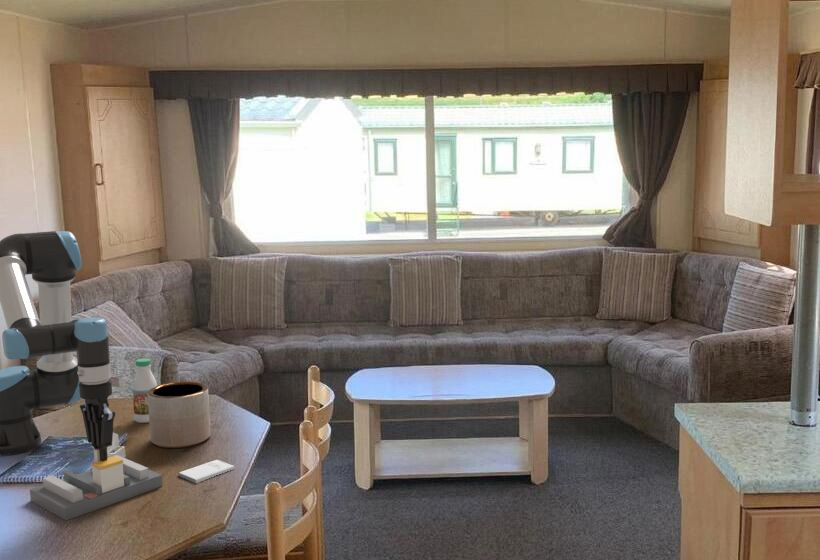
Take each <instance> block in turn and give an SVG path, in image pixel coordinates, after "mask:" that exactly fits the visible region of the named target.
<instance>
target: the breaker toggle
mask: <svg viewBox="0 0 820 560" xmlns="http://www.w3.org/2000/svg"><path fill="white" fill-rule="evenodd" d="M90 466H91V470H92V473H93V483H94V484H97V485H99V486H101V493H105V492H108V491H110V490H113V489H116V488H119V487H122V486H124V474H123V460H122V459H120V458H118V457H115V456H113V457H109V458H107V460H105V461H97V462H95V461H93V462H91V464H90Z"/></svg>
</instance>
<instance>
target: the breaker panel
mask: <svg viewBox="0 0 820 560" xmlns="http://www.w3.org/2000/svg"><path fill="white" fill-rule="evenodd" d="M115 457H118V458H120V459H122V460H123V474H124V486H122V487H119V488H116V489H113V490H110V491H108V492H105V493H101V486H99V485H97V484H94V483H93V473H92V469H90V470H86V471H83V472H80V473H77V474H75V473H73V472H72V471H69V470H67V471H64V472H63V477H64V478H62V479H60V478H58V477H56V476H55V475H52V474H51V475H49V476H45V477H43V478H42V483H43V484H42V485H38V486H36V487H33V488H30V489H29V496H30V501H31V502H32V503H34V504H36V505H38V506H39V507H40V508H43V509H45V510H47V511H49V512H51V514H54V515H55V516H58V517H59V518H61V519H63V520H65V521H68V520H71V519H72V520H73V519H75V518H78V517H80V516H83V515H86V514H88V513H91V512H94V511H97V510H99V509H102V508H105V507H107V506H111V505H114V504H115V503H116V504H117V503H119V502H122V501H124V500H127V499H130V498H133V497H136V496H139V495H141V494H145V493H146V492H150V491H152V490H155V489H159V488H160V487H163V475H162V474H160V473H158V472H155V471H153V470H151V469H149V467H147V466H144V465H142V464H140V463H138V462H135V461H132V460H130V459H128V458H126V457H125V458H123V457H121V456H118V455H116V456H115Z"/></svg>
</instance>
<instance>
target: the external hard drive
mask: <svg viewBox="0 0 820 560" xmlns="http://www.w3.org/2000/svg"><path fill="white" fill-rule="evenodd" d="M233 469H234V470H235V465H232V464H230V463H227V462H225V461H222V460H219V459H215V460H212V461H208V462H205V463H203V464H200V465H197V466H194V467H191V468H187V469H185V470H183V471H180V472H178V473H177V476H178V477H179V476H181V477H180V478H182V477H183V479H184V478H185V480H187V481H189V482H191V481H192V483H195V484H199V483H202V482H204V481H206V479H207V480H209V478H210V479H212V478H214V476H215V477H217V476H216V475H218V476H220V475H219V474H221V475H223V474H226V473H228V472H227V471H229V472H231V471H233ZM230 470H231V471H230ZM225 472H226V473H225ZM222 473H223V474H222ZM211 477H212V478H211ZM201 481H202V482H201Z"/></svg>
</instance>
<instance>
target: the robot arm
mask: <svg viewBox="0 0 820 560" xmlns="http://www.w3.org/2000/svg"><path fill="white" fill-rule="evenodd" d="M81 255H82V254H81V251H80V248H79V243H78V241H77V237H75V235H74V234H73V232H71V231H69V230H67V231H66V230H62V231H60V230H59V231H57V230H54V231H53V230H52V231H39V232H38V231H37V232H28V233H27V232H26V233H21V232H20V233H14V234H10V235H7V236H5V237H3V238H2V239H1V240H0V306H1V309H2V314H3V316H4V319H5V324H6V327H7V329H5V330H3V332H2V336H1V337H2V339H1V340H2V347H3V348H2V349H3V353H4V356H5V358H6V359H8V360H19V359H20V360H21V359H22V360H25V359H30V358H36V357H37V358H39V357H41V358H40V359H39V360H37V362H36V369H32V370H30V368H29V367H28V366H27V365H15V366H10V367H9V366H8V367H6V368H3V369H0V456H10V455H18V454H21V453H25V452H26V453H27V452H29V451H32V450H34V449H36V448H38V447H39V446H41V444H42V435H41V433H40V431H39V429H38V426H37V425H36V422H35V420H34V416H33V410H37V409H43V408H50V407H56V406H62V405H68V404H71V403H76V402H79V401H81V399H82V400H84V403H82V404H80V405H79V408H80V412H81V413H82V417H83V423H84V428H85V433H86V438H87V439H86V440H87V443H88V444H91V447H92V448H93V458H94V459H93V460H94V462H97V461H105V460H107V458H108V457H107V447H109V446H112V437H113V432H114V419H115V417H116V412H115V411H114V410H112V411H111V410H110V409H109V407H110V404H109V400H108V398H109V397H111V395H112V394H113V388H112V387H113V386H112V380H111V378H112V371H111V361H110V360H111V359H110V347H109V330H108V323H107V320H106V319H105V318H102V317H95V316H94V317H93V316H92V317H84V318H75V319H72V299H71V296H72V295H71V282H73V281H74V280H75V278H76V272H78V271H80V270H82V267H83V262H82V261H83V260H82V257H81ZM26 275H31V279H32V280H33V281H34V282H36V283H37V285H38V287H37V288H38V304H39V315H38V312H37V309H36V306H35V303H34V300H33V296H32V292H31V290H30V288H29V284H28V281H27V278H26ZM73 352H76V356H74V355H73Z"/></svg>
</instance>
